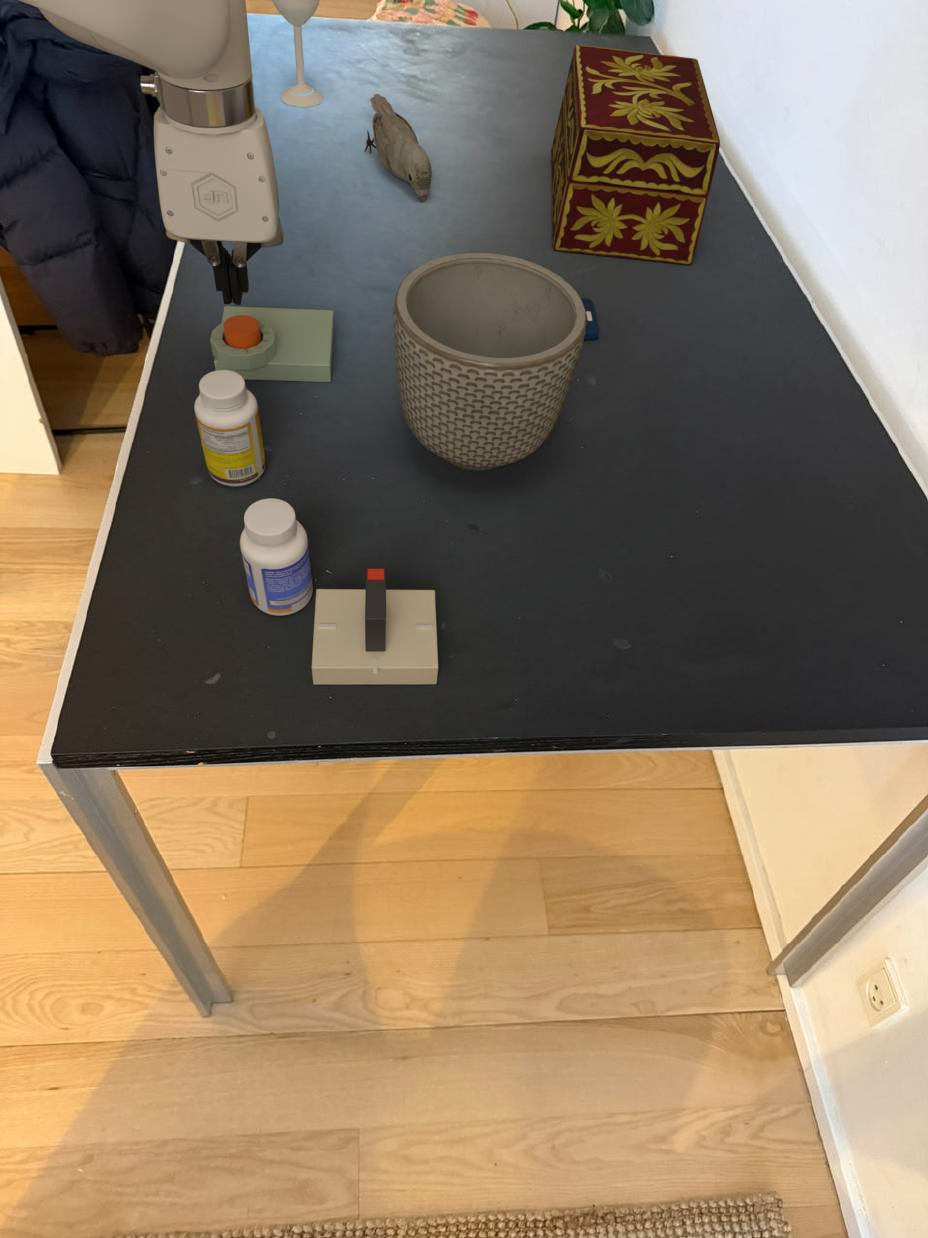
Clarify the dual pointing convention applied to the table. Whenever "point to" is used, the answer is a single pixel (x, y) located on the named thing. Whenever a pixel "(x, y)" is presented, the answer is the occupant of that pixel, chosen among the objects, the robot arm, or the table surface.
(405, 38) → the table surface
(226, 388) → the supplement bottle
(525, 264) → the planter
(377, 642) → the program dial
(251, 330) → the button
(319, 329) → the block
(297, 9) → the champagne flute
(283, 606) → the pill bottle
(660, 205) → the decorative box
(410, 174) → the decorative bird
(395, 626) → the dial panel
